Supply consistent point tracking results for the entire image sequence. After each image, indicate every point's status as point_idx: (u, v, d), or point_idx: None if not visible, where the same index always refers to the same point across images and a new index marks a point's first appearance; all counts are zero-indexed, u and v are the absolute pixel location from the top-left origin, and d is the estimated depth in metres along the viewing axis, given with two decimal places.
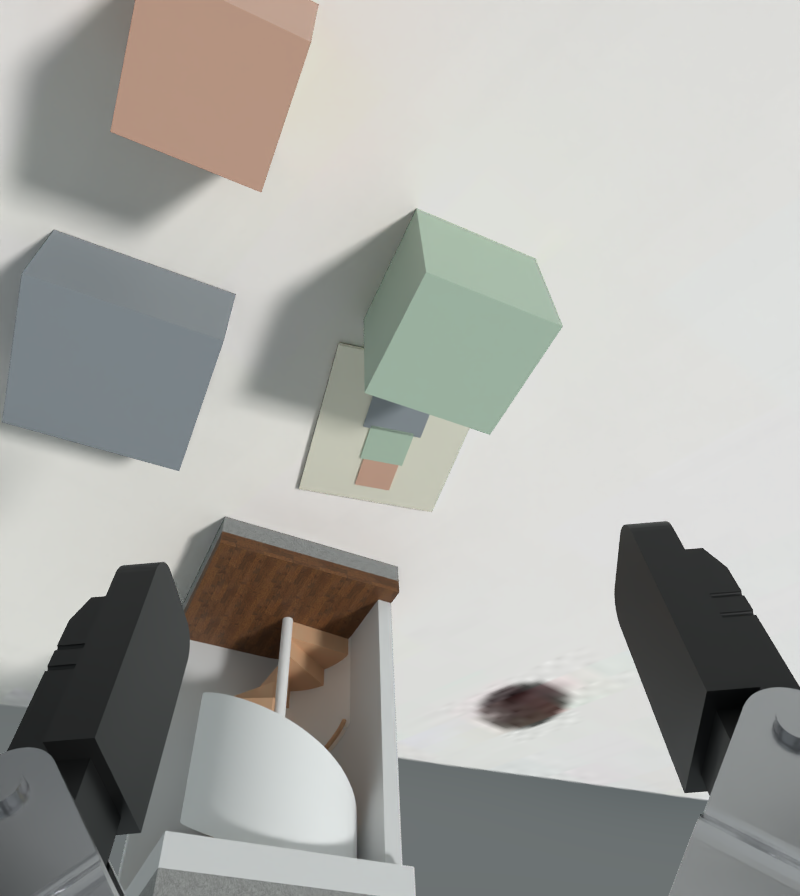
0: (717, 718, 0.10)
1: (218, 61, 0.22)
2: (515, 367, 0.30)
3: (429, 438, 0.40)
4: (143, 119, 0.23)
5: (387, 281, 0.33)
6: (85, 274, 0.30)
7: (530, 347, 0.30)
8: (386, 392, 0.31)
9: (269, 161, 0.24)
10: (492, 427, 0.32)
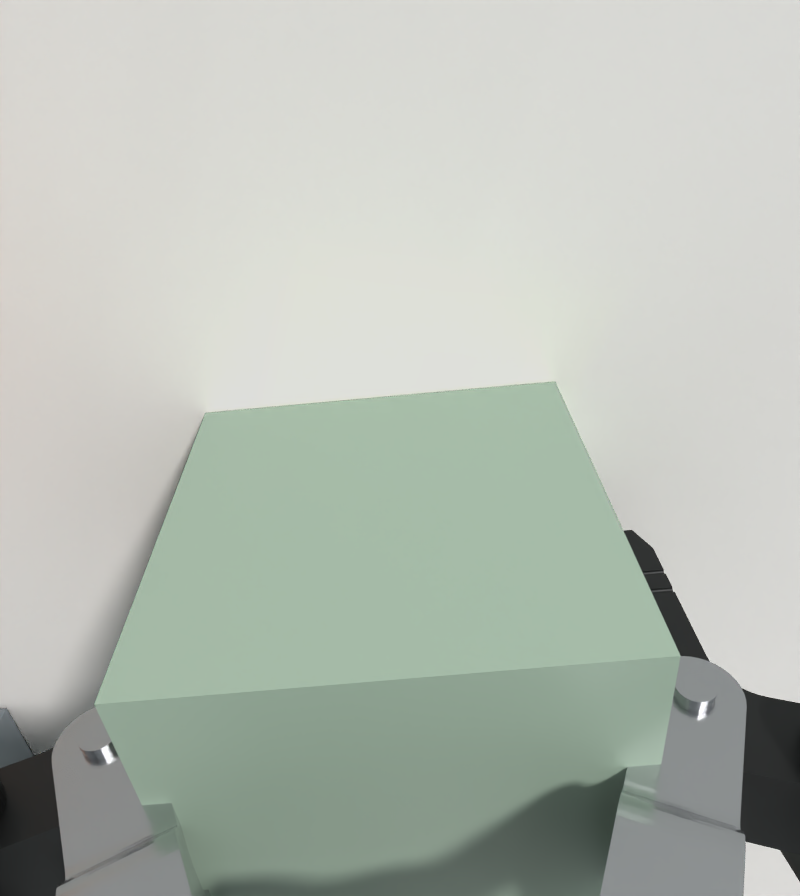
0: None
1: None
2: (592, 800, 0.09)
3: None
4: None
5: None
6: None
7: (604, 744, 0.08)
8: None
9: None
10: None
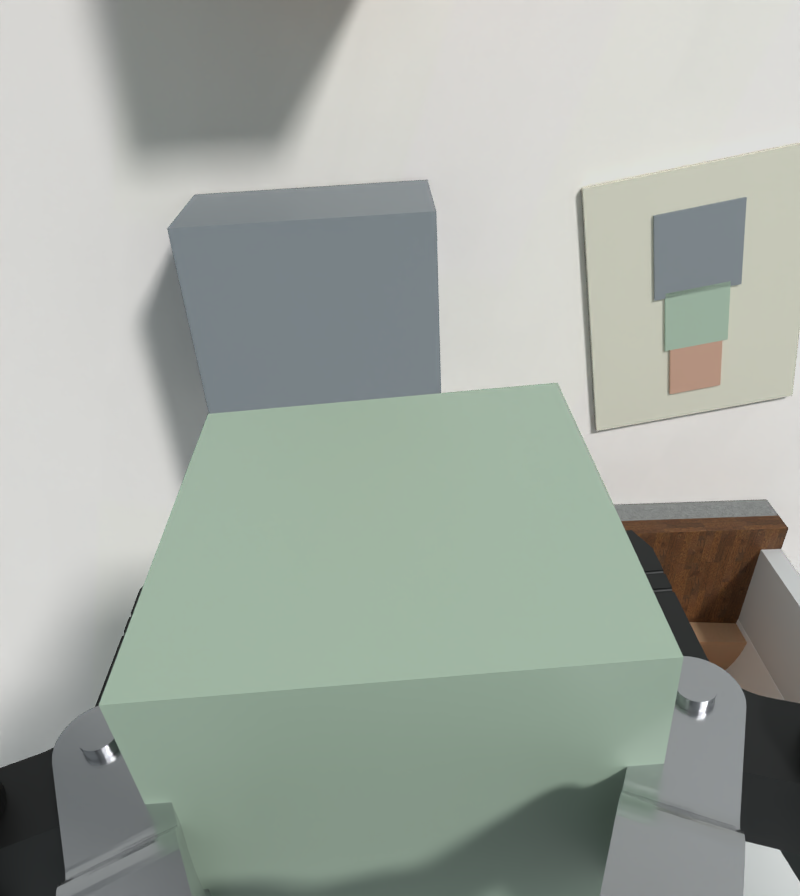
0: None
1: None
2: (594, 800, 0.09)
3: (753, 280, 0.27)
4: None
5: None
6: (242, 211, 0.23)
7: (607, 745, 0.08)
8: None
9: None
10: None
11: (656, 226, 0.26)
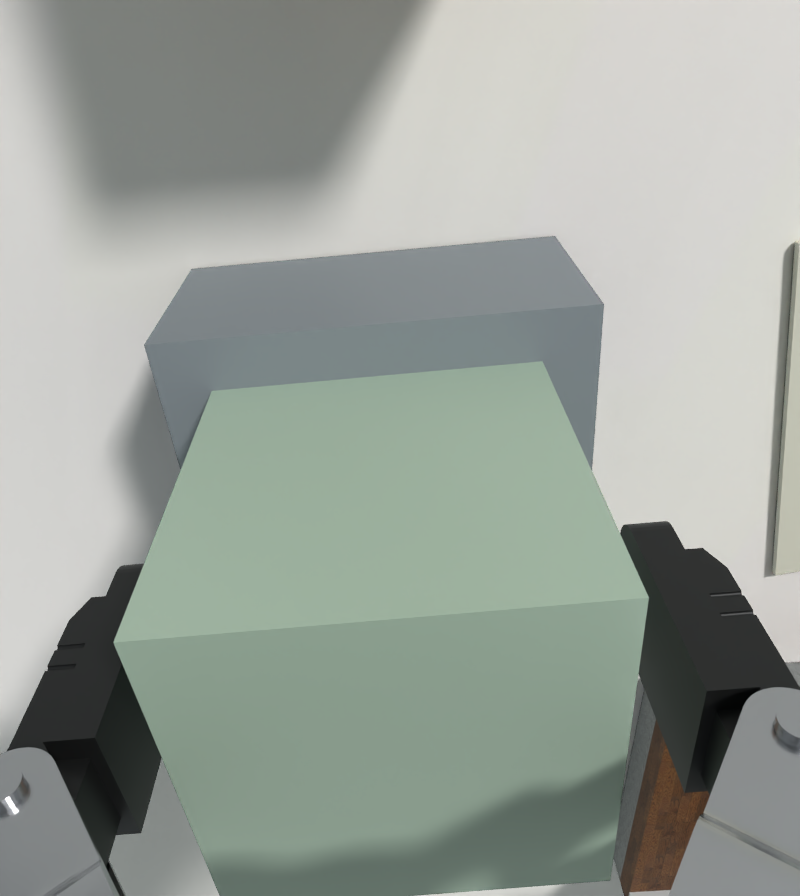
0: (717, 718, 0.10)
1: None
2: (571, 740, 0.09)
3: None
4: None
5: None
6: (269, 305, 0.14)
7: (581, 684, 0.09)
8: (276, 893, 0.11)
9: None
10: (606, 866, 0.11)
11: None
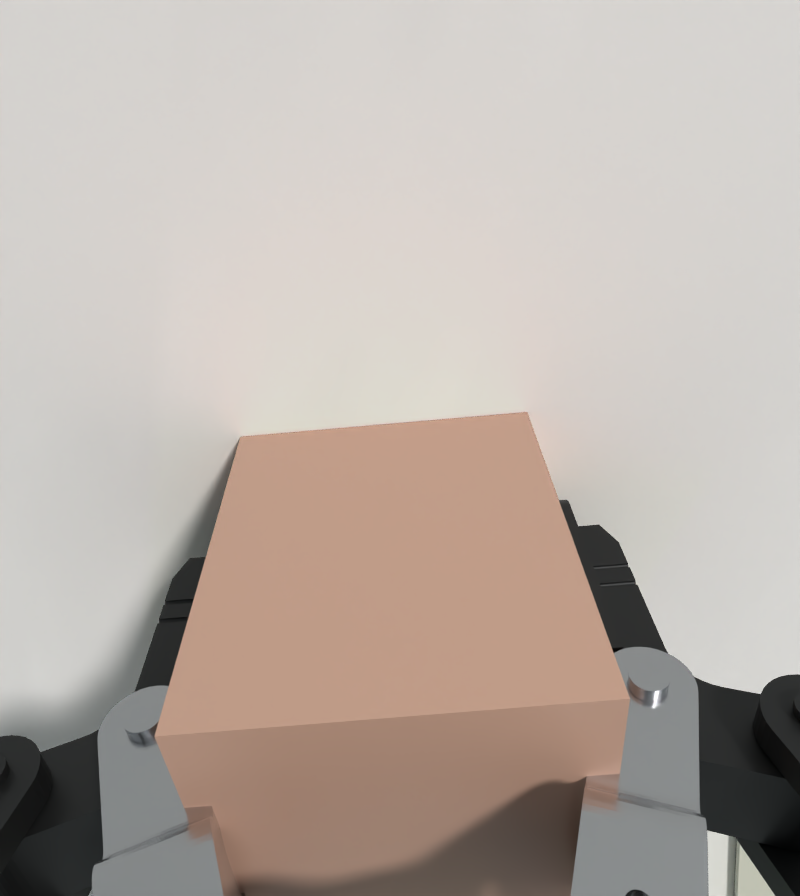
0: None
1: (412, 805, 0.09)
2: None
3: None
4: None
5: None
6: None
7: None
8: None
9: None
10: None
11: None
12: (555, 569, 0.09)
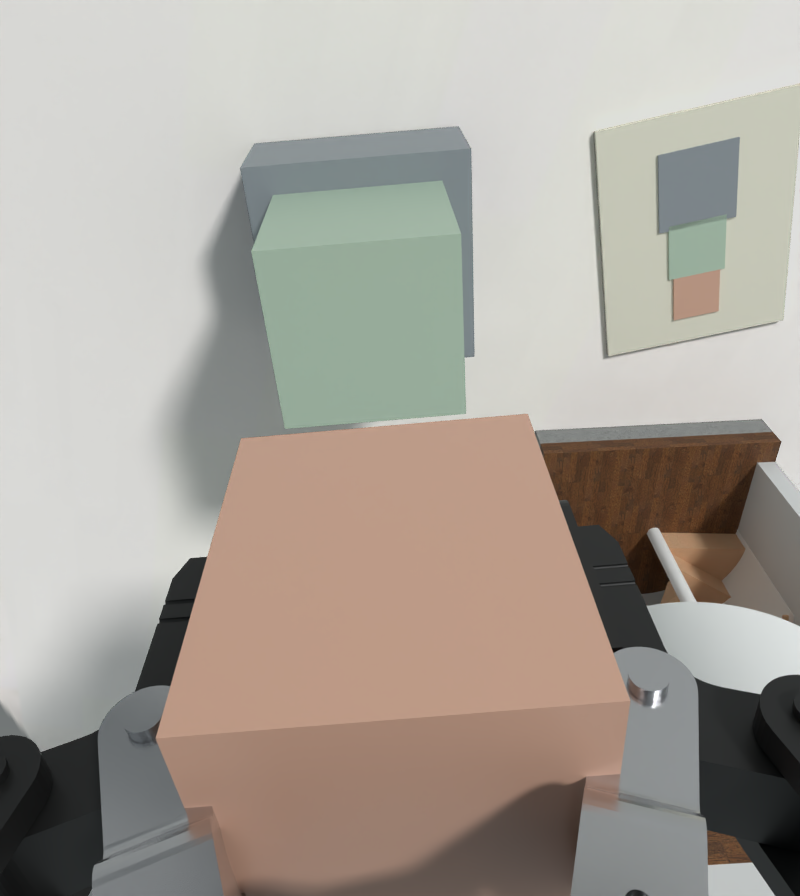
0: None
1: (412, 807, 0.09)
2: (438, 314, 0.22)
3: (747, 213, 0.31)
4: None
5: None
6: (301, 154, 0.26)
7: (439, 281, 0.22)
8: (308, 417, 0.24)
9: None
10: (462, 403, 0.24)
11: (660, 164, 0.29)
12: (556, 571, 0.09)
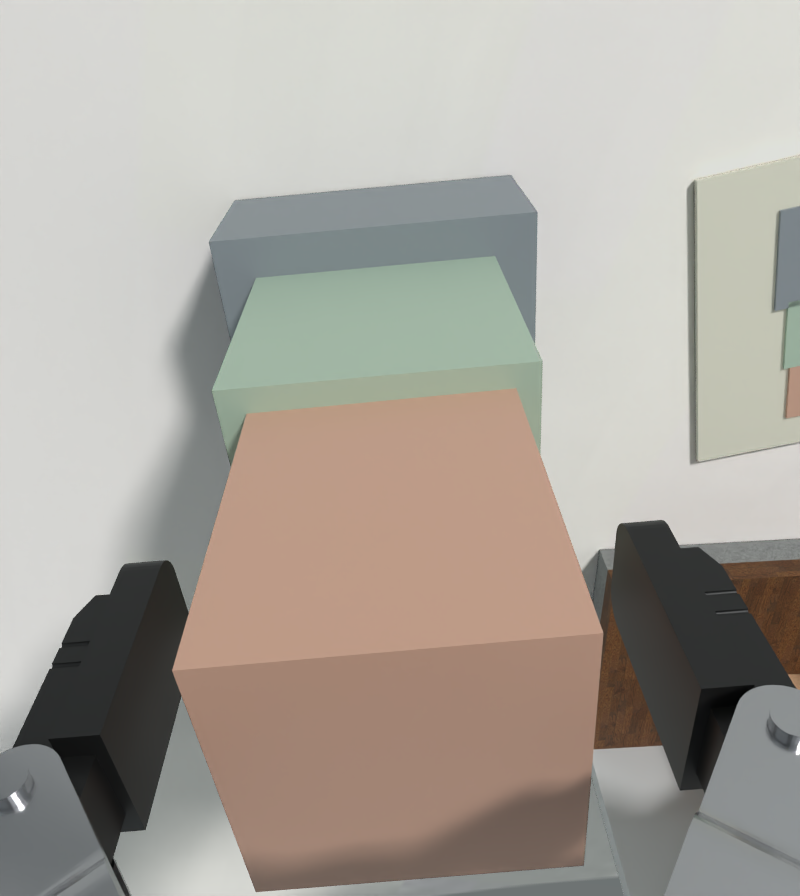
0: (711, 716, 0.10)
1: (407, 739, 0.09)
2: None
3: None
4: (305, 859, 0.11)
5: None
6: (296, 218, 0.19)
7: None
8: None
9: (583, 825, 0.10)
10: None
11: (783, 223, 0.22)
12: (539, 525, 0.10)
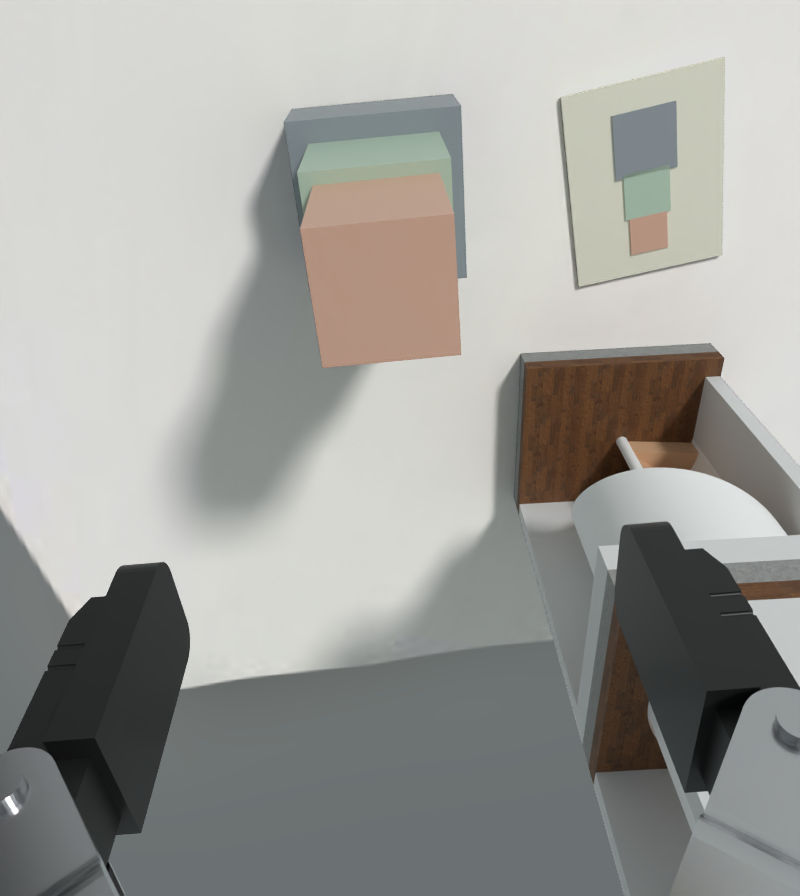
0: (718, 718, 0.10)
1: (385, 270, 0.25)
2: None
3: (686, 164, 0.38)
4: (344, 345, 0.26)
5: None
6: (329, 113, 0.34)
7: None
8: None
9: (458, 326, 0.26)
10: None
11: (614, 123, 0.37)
12: (438, 199, 0.25)
